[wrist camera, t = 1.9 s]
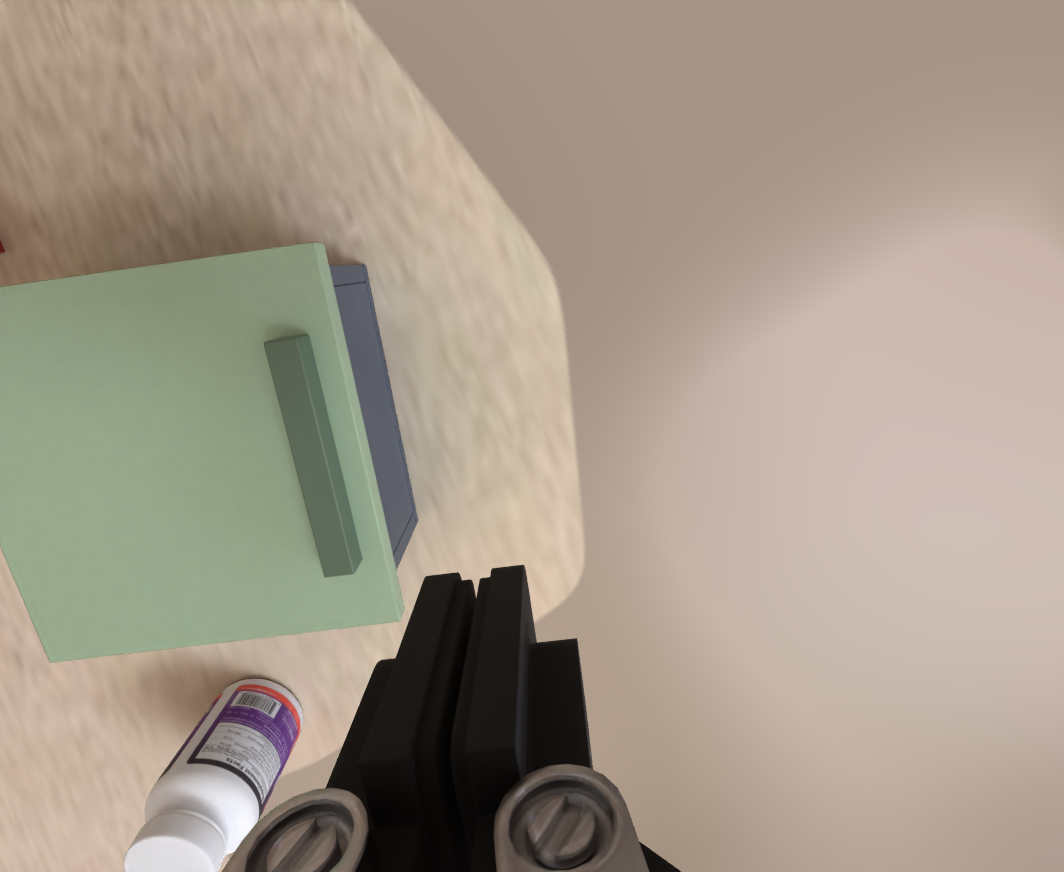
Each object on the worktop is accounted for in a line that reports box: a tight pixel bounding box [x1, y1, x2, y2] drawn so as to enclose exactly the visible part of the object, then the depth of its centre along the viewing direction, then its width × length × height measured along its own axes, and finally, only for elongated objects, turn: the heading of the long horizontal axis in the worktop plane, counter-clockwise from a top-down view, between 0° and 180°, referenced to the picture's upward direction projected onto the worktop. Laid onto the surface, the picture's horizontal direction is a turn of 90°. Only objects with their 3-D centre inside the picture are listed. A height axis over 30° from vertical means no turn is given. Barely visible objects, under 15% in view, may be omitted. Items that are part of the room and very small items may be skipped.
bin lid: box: [0, 242, 405, 663], centre depth 23 cm, size 15×15×2 cm
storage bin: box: [329, 265, 418, 570], centre depth 27 cm, size 14×14×8 cm
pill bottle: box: [124, 679, 303, 872], centre depth 31 cm, size 5×5×10 cm
